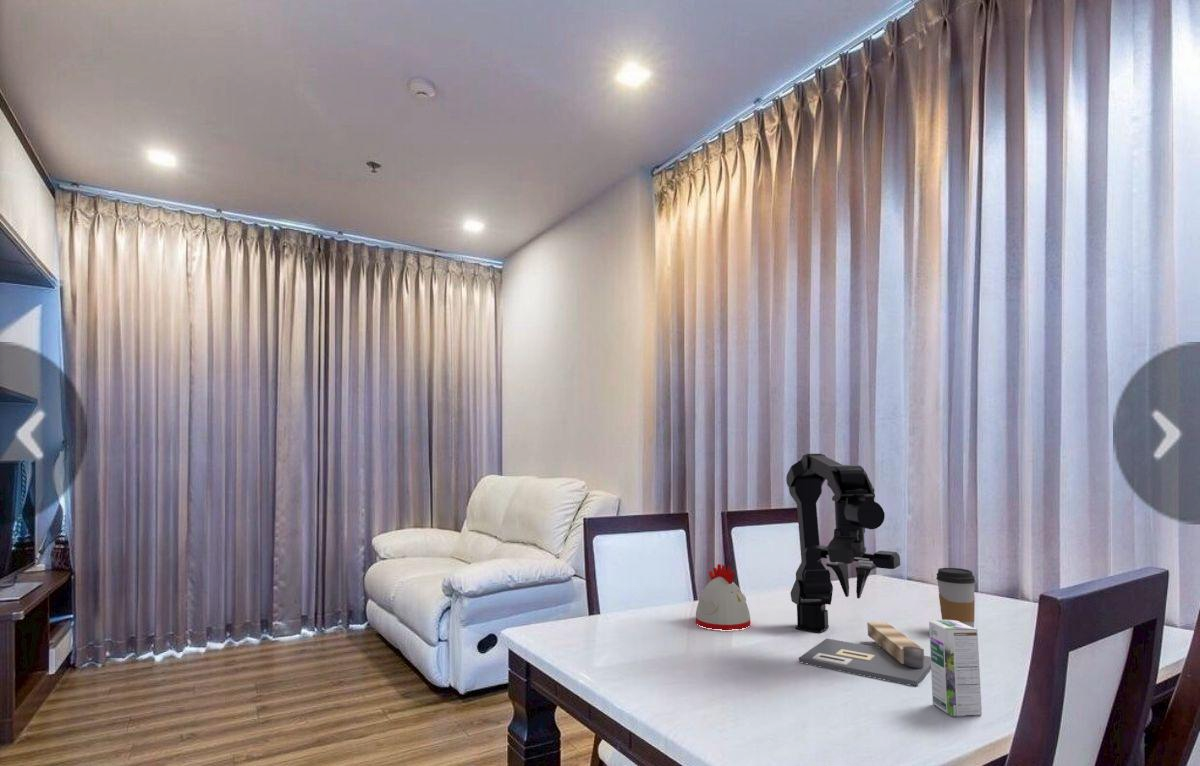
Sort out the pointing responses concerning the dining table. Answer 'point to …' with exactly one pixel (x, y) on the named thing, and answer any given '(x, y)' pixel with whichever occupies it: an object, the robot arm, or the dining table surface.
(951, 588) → the coffee cup
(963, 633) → the syrup box
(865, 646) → the label panel
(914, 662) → the swing arm
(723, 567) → the kitchen timer
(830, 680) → the dining table surface
